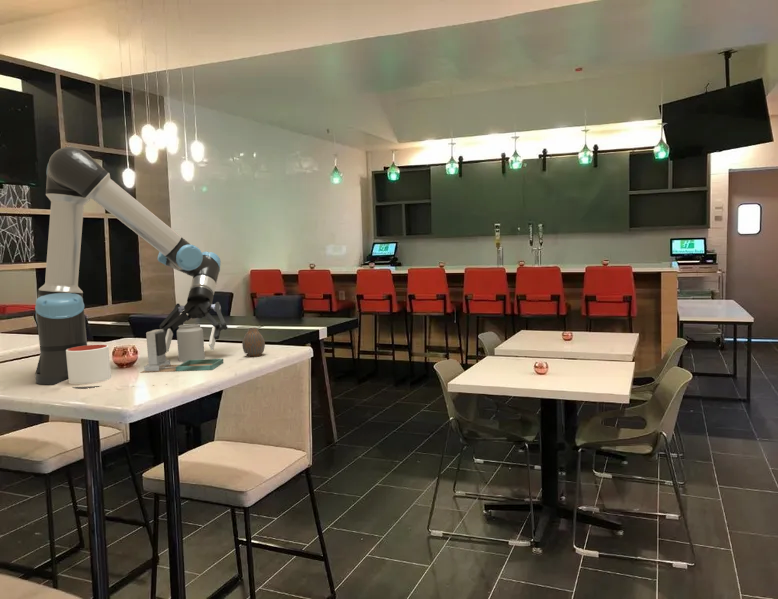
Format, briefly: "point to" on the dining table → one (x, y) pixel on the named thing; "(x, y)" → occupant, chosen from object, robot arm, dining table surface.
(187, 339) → the can
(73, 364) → the cup
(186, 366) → the teal rectangular pan
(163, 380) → the dining table surface
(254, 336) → the vase
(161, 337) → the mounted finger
